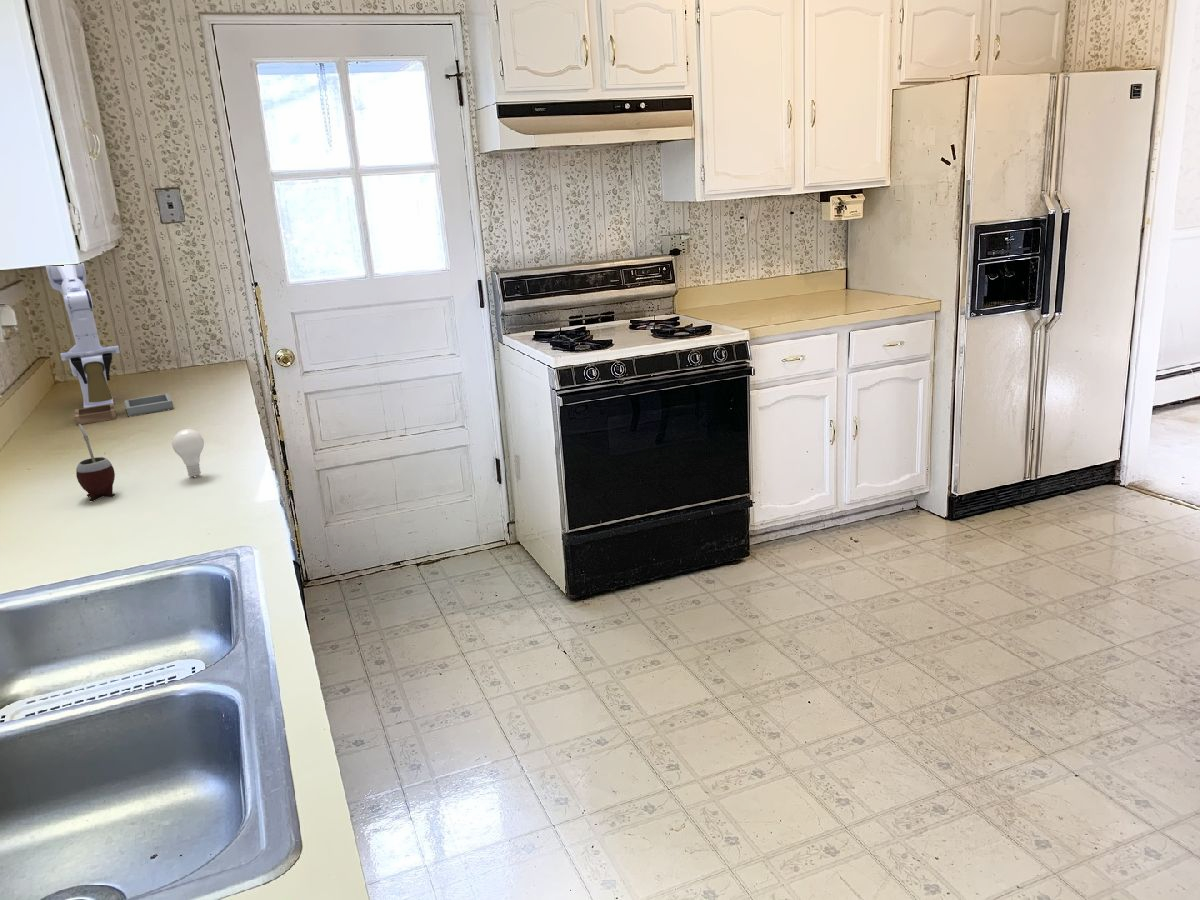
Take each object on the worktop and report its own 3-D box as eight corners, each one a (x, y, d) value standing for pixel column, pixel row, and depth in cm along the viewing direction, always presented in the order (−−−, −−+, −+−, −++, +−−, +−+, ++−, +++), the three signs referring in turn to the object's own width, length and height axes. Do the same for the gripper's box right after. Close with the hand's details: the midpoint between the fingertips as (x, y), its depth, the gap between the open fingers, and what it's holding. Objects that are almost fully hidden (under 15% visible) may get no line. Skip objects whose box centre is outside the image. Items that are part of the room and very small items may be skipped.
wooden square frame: (76, 418, 262) (74, 409, 261) (115, 411, 266) (113, 403, 265) (76, 425, 253) (74, 416, 253) (116, 418, 258) (114, 410, 257)
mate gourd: (104, 502, 190) (87, 433, 185) (71, 502, 191) (53, 434, 187) (127, 489, 197) (112, 423, 192) (95, 489, 198) (79, 423, 193)
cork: (116, 397, 261) (109, 359, 259) (104, 401, 256) (96, 363, 253) (97, 398, 262) (89, 360, 259) (84, 402, 256) (75, 364, 253)
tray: (126, 408, 269) (124, 400, 268) (170, 401, 275) (168, 393, 274) (128, 416, 259) (126, 408, 258) (173, 409, 265) (171, 401, 264)
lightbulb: (215, 475, 203) (205, 428, 199) (187, 483, 198) (177, 435, 195) (202, 470, 207) (192, 423, 203) (174, 478, 202) (164, 431, 199)
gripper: (56, 340, 247) (68, 388, 251) (115, 332, 253) (126, 379, 258) (56, 336, 253) (68, 383, 257) (114, 329, 259) (125, 375, 264)
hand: (97, 381), depth 258 cm, fingers closed on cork, 5 cm apart
